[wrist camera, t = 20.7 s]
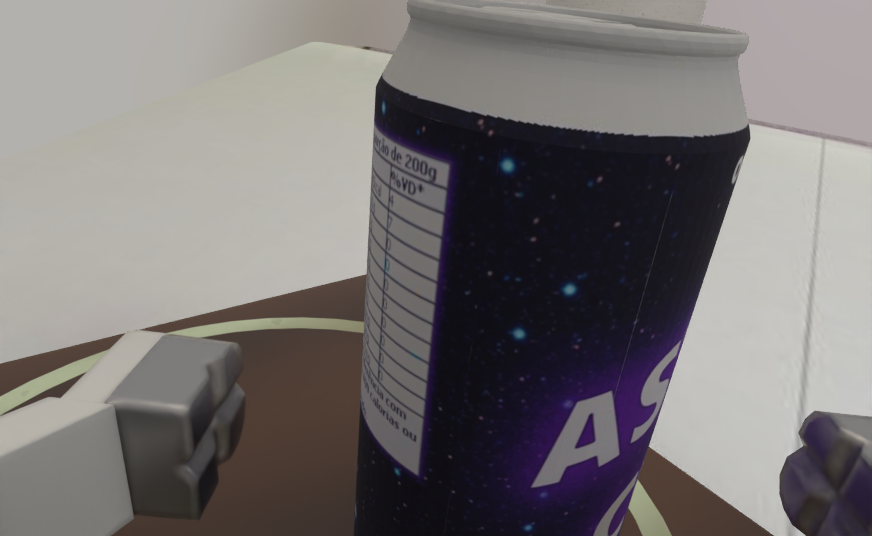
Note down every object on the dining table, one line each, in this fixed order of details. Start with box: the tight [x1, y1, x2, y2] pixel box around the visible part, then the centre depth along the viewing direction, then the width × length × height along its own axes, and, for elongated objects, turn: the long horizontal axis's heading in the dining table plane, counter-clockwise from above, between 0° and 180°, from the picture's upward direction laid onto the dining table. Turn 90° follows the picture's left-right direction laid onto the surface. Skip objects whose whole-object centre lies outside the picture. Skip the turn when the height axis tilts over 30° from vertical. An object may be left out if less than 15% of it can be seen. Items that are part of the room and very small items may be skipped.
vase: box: [546, 0, 707, 24], centre depth 67 cm, size 17×17×24 cm
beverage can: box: [354, 0, 750, 536], centre depth 11 cm, size 6×6×12 cm
